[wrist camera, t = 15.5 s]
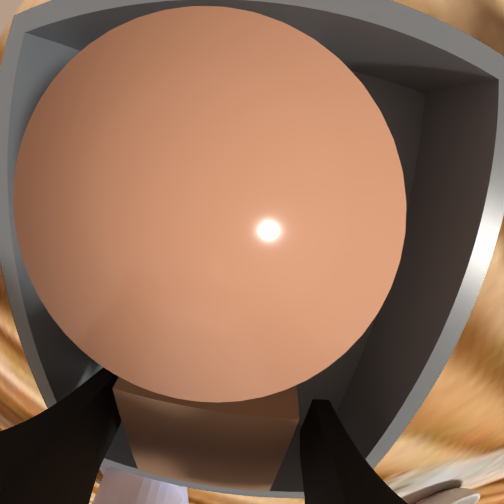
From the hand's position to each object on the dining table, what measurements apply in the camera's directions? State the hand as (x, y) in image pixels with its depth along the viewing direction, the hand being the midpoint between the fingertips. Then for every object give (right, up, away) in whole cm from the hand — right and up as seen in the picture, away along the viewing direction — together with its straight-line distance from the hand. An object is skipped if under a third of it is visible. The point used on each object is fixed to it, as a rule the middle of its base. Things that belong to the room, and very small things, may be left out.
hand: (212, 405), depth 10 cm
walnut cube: (0, +1, +2) cm, 3 cm away
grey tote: (+1, +5, +2) cm, 5 cm away
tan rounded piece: (+1, +8, 0) cm, 8 cm away
